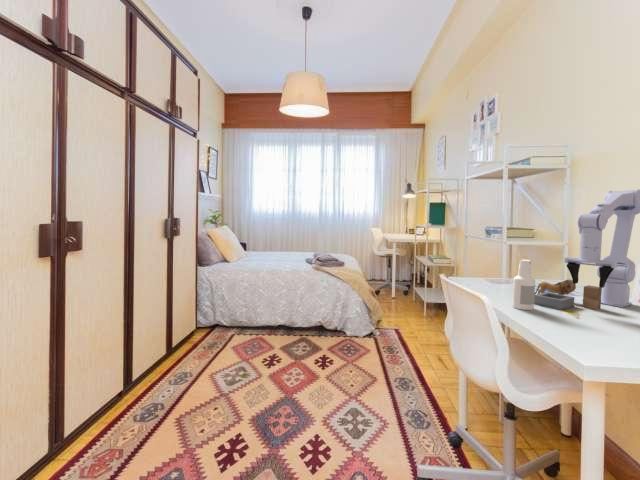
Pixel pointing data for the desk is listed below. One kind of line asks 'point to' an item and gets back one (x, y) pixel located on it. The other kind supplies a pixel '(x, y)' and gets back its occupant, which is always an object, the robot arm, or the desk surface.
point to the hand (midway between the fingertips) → (588, 285)
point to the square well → (554, 300)
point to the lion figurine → (557, 287)
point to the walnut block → (592, 297)
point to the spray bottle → (524, 287)
